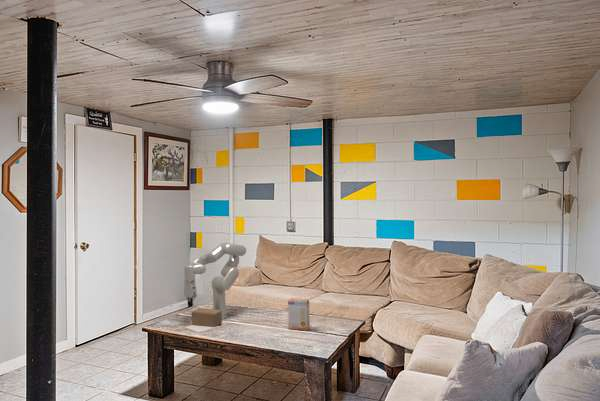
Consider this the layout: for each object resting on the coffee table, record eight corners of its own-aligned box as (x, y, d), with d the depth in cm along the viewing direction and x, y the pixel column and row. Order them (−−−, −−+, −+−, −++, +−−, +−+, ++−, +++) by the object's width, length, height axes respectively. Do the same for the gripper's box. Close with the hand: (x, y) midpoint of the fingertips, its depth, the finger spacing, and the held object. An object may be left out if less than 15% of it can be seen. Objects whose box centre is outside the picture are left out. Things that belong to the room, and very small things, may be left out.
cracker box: (309, 328, 309) (309, 299, 308) (307, 331, 303) (306, 301, 303) (291, 326, 313) (290, 297, 313) (288, 329, 307) (287, 299, 307)
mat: (205, 322, 327) (205, 321, 327) (219, 327, 314) (219, 326, 314) (184, 327, 314) (184, 327, 314) (198, 333, 302) (198, 332, 302)
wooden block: (191, 325, 319) (215, 327, 313) (191, 311, 319) (215, 313, 312) (198, 321, 328) (222, 323, 322) (198, 307, 328) (222, 309, 322)
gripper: (200, 282, 320) (200, 307, 321) (188, 279, 330) (188, 304, 331) (191, 283, 315) (191, 309, 315) (179, 281, 325) (180, 305, 325)
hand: (190, 306), depth 323 cm, fingers closed
